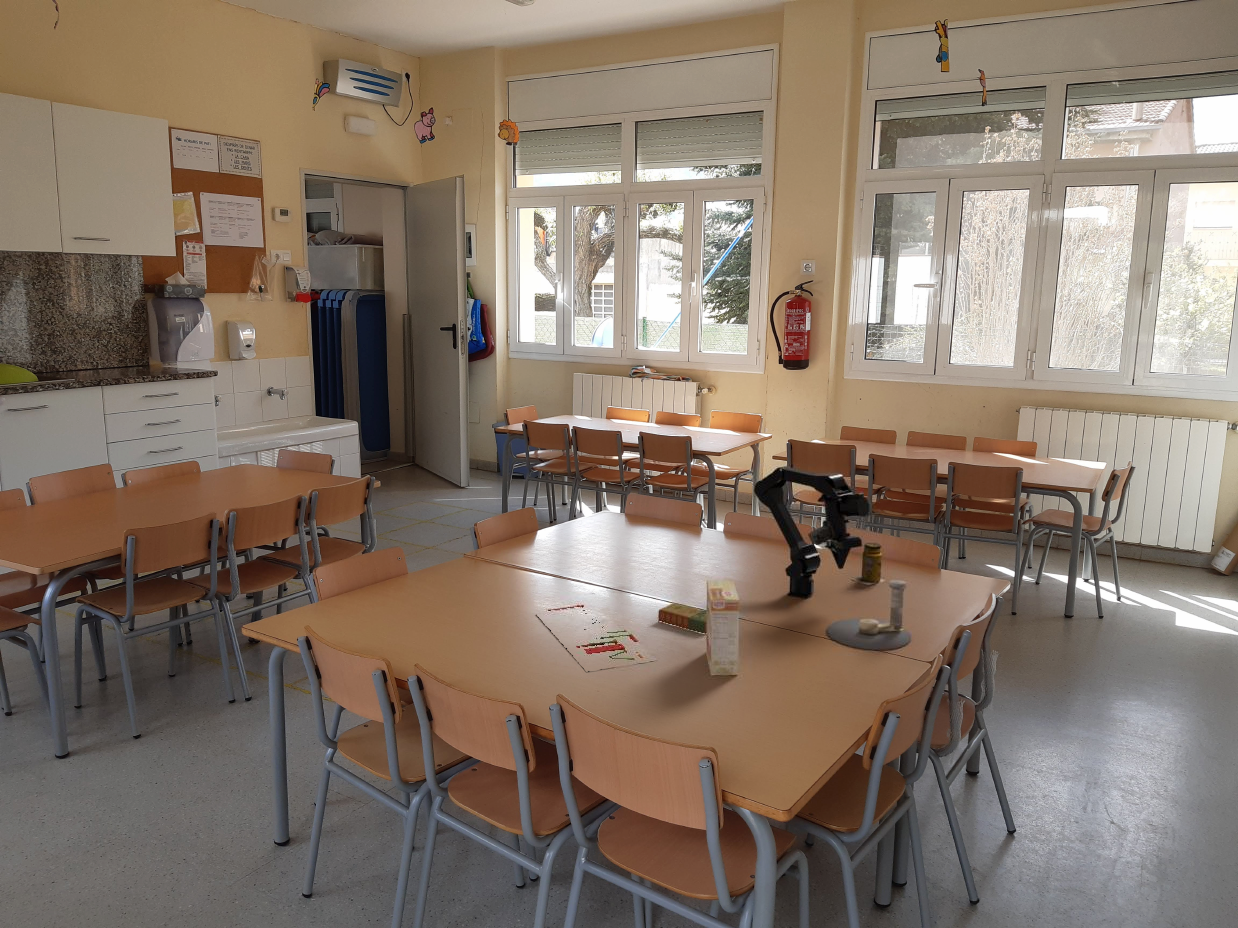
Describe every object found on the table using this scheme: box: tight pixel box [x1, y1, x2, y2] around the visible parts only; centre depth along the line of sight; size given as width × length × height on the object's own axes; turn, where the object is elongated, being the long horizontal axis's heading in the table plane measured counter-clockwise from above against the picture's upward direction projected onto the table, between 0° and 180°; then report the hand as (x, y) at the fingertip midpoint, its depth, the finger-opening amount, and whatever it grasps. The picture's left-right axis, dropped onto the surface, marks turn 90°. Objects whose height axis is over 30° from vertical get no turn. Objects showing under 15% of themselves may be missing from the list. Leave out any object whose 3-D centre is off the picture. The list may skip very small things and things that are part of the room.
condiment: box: [852, 542, 887, 586], centre depth 289 cm, size 7×8×12 cm
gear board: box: [547, 604, 643, 660], centre depth 243 cm, size 45×2×19 cm
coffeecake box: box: [705, 579, 740, 676], centre depth 222 cm, size 15×7×20 cm, turn 178°
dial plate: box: [826, 617, 912, 651], centre depth 242 cm, size 22×22×1 cm
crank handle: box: [859, 579, 907, 634], centre depth 242 cm, size 13×5×13 cm, turn 101°
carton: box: [657, 602, 707, 635], centre depth 251 cm, size 8×16×4 cm, turn 51°
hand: (840, 568), depth 263 cm, fingers closed
